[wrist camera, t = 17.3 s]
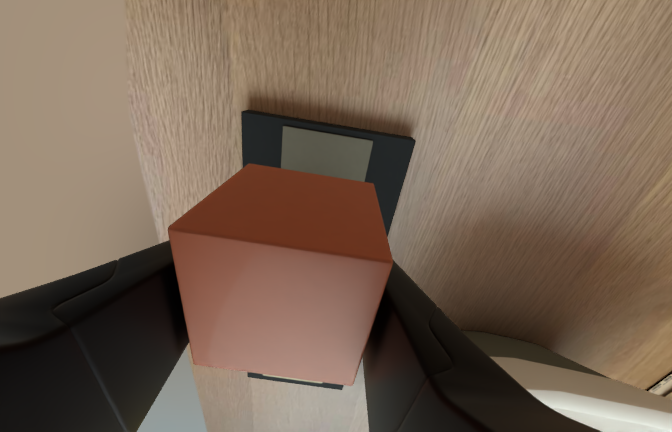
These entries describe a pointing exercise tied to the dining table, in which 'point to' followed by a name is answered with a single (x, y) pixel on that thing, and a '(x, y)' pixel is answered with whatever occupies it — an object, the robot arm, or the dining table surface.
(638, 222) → the dining table surface
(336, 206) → the reddish brown cube
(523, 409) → the robot arm
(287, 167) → the word board
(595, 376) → the bowl
